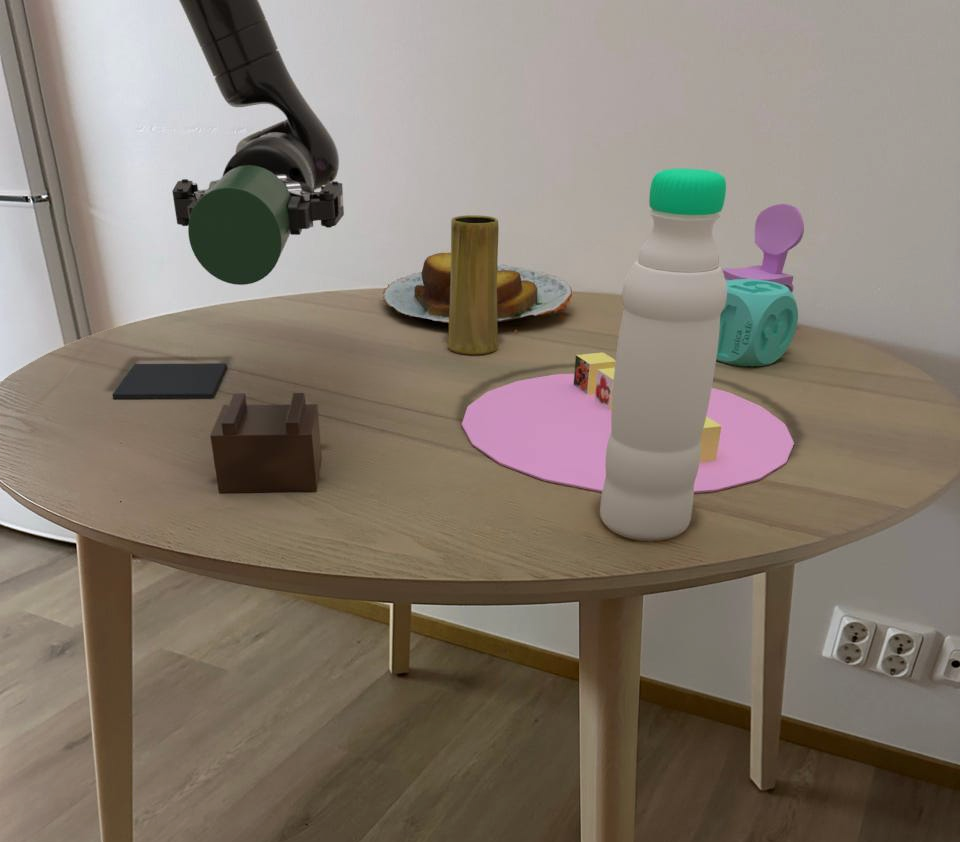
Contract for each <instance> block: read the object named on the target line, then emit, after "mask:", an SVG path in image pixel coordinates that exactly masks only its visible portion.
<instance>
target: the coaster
mask: <svg viewBox="0 0 960 842" xmlns="http://www.w3.org/2000/svg"><path fill="white" fill-rule="evenodd" d="M227 368H228V363H226V362H223V363H221V362H220V363H219V362H218V363H213V362H212V363H210V362H209V363H134V364H133V366H132V367H131V368H130V370H129V371H128V372H127V373H126V375H125V377H124V378H123V379H122V380H121V382H120V383H119V385H118V386H117V387H116V388H115V390H114V392H113V393H112V394H111V395H112V399H113V400H134V399H135V400H137V399H138V400H140V399H141V400H142V399H143V400H145V399H149V400H152V399H154V400H155V399H213V398H214V397H215V395H216V393H217V390H218V388H219V386H220V384H221V382H222V380H223V377H224V376H225V373H226V371H227Z"/></svg>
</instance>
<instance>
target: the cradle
mask: <svg viewBox="0 0 960 842" xmlns="http://www.w3.org/2000/svg"><path fill="white" fill-rule="evenodd" d="M319 418H320V417H319V407H318V404H317V403H306V394H305V392H293V393H292V396H291V400H290V404H289V403H288V404H282V403H279V404H247V397H246V393H243V392H242V393H238V392H237V393H235V392H234V393H233V395H232V397H231V399H230V401H229V404H223V405H222V407H221V409H220V412H219V413H218V416H217V419H216V421H215V423H214V426H213V428H212V430H211V433H210V436H209V437H210V443H211V451H212V457H213V464H214V471H215V477H216V484H217V489H218V493H219V494H226V493H227V494H234V493H235V494H237V493H238V494H239V493H241V494H242V493H295V492H296V493H298V492H303V493H304V492H317V491H318V486H319V478H320V473H321V465H322V459H323V456H322V455H323V454H322V443H321V432H320V431H321V430H320V419H319Z"/></svg>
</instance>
